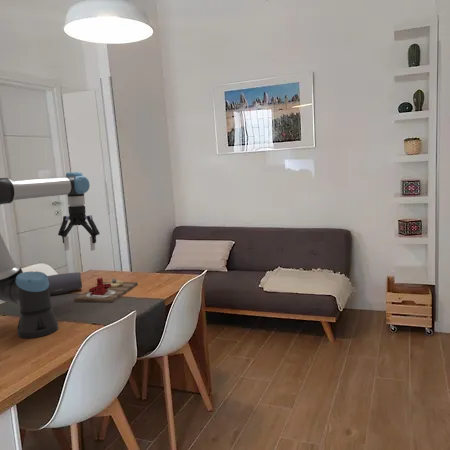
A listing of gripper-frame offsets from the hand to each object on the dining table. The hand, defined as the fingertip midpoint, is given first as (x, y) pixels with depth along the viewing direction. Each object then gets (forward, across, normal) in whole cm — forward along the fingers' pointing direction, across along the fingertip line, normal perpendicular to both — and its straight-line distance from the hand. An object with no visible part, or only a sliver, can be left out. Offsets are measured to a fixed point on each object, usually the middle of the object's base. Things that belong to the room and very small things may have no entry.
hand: (80, 250), depth 212 cm
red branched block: (+24, -4, -9) cm, 25 cm away
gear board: (+25, -4, -16) cm, 30 cm away
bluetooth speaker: (+25, +22, -14) cm, 37 cm away
